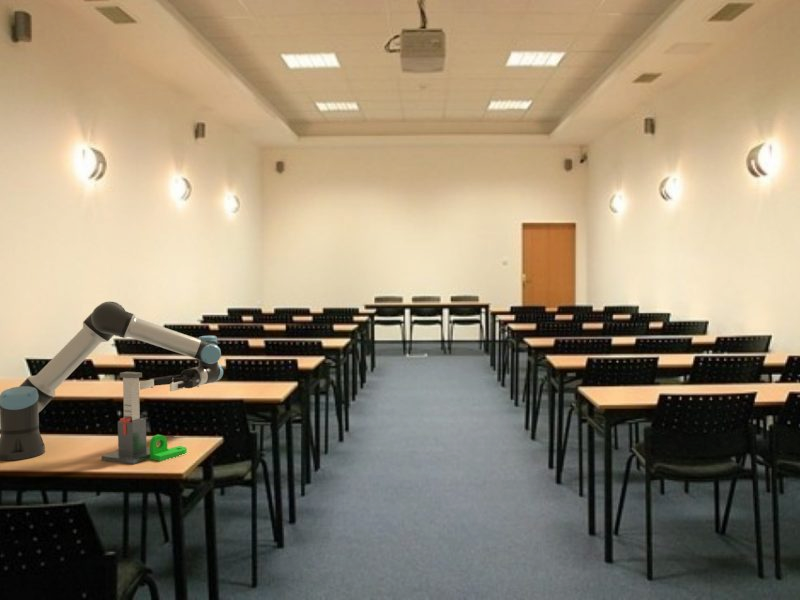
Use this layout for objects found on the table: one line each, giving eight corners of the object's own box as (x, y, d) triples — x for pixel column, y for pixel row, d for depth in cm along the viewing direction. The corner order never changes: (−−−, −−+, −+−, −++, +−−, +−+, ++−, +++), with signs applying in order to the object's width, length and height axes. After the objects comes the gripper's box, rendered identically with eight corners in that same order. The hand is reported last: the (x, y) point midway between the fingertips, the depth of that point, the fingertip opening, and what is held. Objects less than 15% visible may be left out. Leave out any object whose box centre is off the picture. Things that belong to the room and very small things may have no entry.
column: (120, 451, 220) (118, 373, 219) (128, 448, 223) (126, 371, 222) (136, 453, 217) (134, 374, 216) (144, 450, 221) (142, 372, 220)
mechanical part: (160, 462, 214) (159, 438, 214) (150, 459, 218) (149, 436, 218) (190, 454, 224) (189, 431, 224) (180, 451, 228) (179, 429, 227)
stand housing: (101, 460, 216) (100, 419, 215) (131, 449, 229) (130, 411, 229) (133, 464, 211) (132, 422, 211) (162, 453, 224) (162, 413, 224)
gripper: (219, 388, 246) (183, 398, 226) (167, 385, 254) (128, 395, 234) (219, 369, 245) (183, 377, 225) (167, 367, 254) (128, 375, 234)
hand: (155, 386), depth 230 cm, fingers open, 13 cm apart
